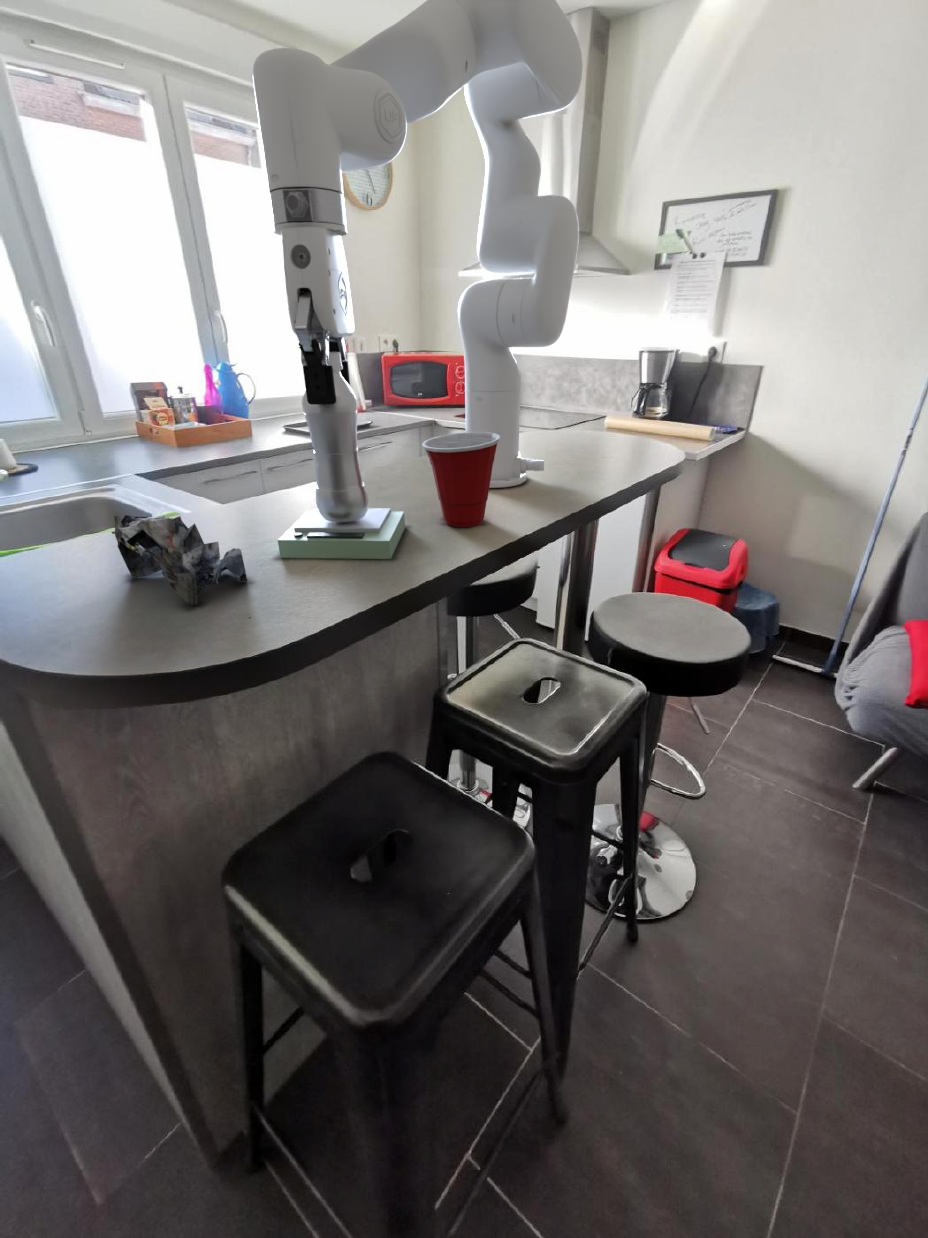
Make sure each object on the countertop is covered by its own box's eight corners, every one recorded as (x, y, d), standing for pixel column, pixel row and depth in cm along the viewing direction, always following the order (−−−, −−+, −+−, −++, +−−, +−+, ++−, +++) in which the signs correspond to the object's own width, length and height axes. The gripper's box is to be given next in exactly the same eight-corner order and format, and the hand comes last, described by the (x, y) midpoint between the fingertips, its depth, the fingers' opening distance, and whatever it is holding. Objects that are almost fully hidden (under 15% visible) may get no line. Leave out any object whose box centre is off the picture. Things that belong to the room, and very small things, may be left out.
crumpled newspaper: (121, 598, 53) (94, 483, 59) (150, 650, 62) (124, 546, 68) (248, 569, 58) (212, 464, 64) (258, 622, 67) (225, 526, 73)
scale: (405, 527, 81) (403, 507, 79) (390, 559, 70) (389, 536, 69) (309, 526, 81) (306, 506, 80) (280, 558, 71) (276, 535, 69)
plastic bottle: (360, 529, 71) (341, 354, 62) (310, 526, 72) (284, 354, 63) (377, 513, 77) (362, 350, 67) (330, 511, 78) (309, 351, 68)
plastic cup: (424, 511, 87) (420, 431, 82) (493, 508, 88) (494, 428, 82) (426, 535, 78) (422, 445, 72) (504, 531, 79) (506, 443, 73)
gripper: (321, 200, 51) (343, 410, 60) (362, 227, 66) (375, 391, 75) (240, 202, 52) (274, 410, 60) (300, 229, 67) (320, 391, 75)
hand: (330, 398), depth 67 cm, fingers closed on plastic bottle, 6 cm apart
